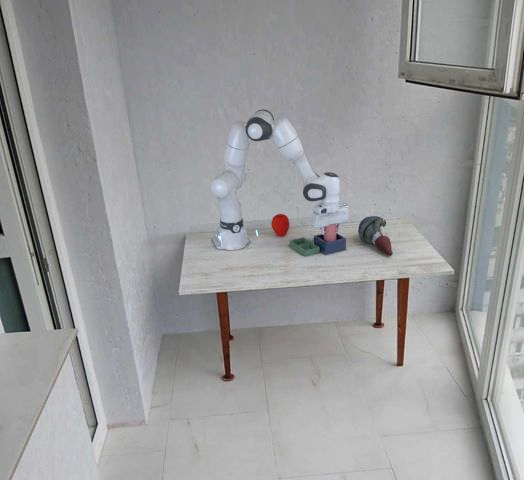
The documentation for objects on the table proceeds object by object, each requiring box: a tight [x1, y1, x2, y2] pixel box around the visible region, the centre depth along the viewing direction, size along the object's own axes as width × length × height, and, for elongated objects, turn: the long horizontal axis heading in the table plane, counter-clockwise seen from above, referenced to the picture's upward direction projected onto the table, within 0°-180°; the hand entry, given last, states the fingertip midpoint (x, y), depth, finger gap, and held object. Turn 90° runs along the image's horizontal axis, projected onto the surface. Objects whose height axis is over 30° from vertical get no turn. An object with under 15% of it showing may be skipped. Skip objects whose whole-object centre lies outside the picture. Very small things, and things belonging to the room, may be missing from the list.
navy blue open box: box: [313, 232, 347, 256], centre depth 288 cm, size 12×12×6 cm
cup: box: [324, 224, 337, 242], centre depth 285 cm, size 6×6×10 cm
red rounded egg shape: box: [270, 213, 290, 238], centre depth 305 cm, size 10×10×12 cm
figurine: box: [357, 215, 394, 257], centre depth 288 cm, size 29×17×15 cm
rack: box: [289, 237, 321, 257], centre depth 290 cm, size 16×8×3 cm, turn 26°
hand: (330, 232), depth 285 cm, fingers closed on cup, 6 cm apart
